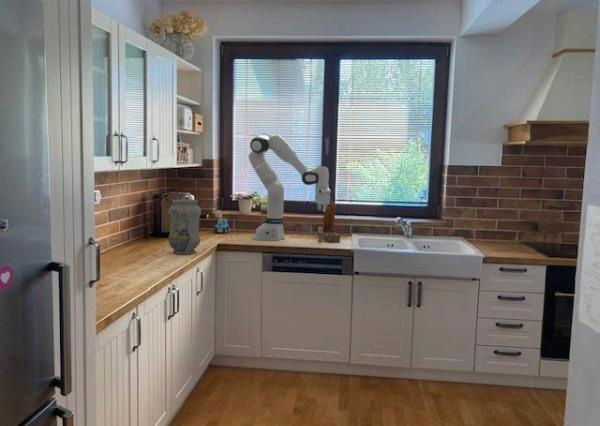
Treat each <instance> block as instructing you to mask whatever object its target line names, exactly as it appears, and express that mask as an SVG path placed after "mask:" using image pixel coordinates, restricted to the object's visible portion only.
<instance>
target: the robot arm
mask: <svg viewBox="0 0 600 426" xmlns="http://www.w3.org/2000/svg"><path fill="white" fill-rule="evenodd" d="M249 148H250V149H251V152H249V154H248V161H249V163H250V164H251V166H252V169H253V170H254V172H255V173H256V175H257V177H258V179H259V180H260V182H261V183H262V184H263V186H264V188H265V190H266V191H267V198H266V199H267V204H266V205H267V210H266V217H262V221H263V223H262V224H261V225H260V226H258V227H257V228H256V230H255V234H254V235H252V236H251V239H253V240H256V241H281V240H284V239H285V238H286V237H285V233H284V232H285V231H284V225H285V219H284V206H285V205H284V201H285V187H284V184H283V183H282V182H281V180H280V178H279V177H278V175H277V174H276V172H275V170H274V169H273V166H271V164H270V162H269V160H268V158H267V157H266V155H265V153H266V152H268V150H271V151H272V152H273V153H274V154H275V155H276V156H277V157H278V158H279V159H280V160H282V162H285V163H287V164H289V165H291V166H292V167H293V168H294V169H295V171H297V172H298V174H300V176H301V181H302V183H303V184H304V185H306V186H311V185H315V196H314V201H315V203H316V205H317V210H318V211H322V212H323V213H324V212H325V211H326V207H327V205H329V203H330V197H331V195H330V194H331V191H332V190H331V189H330V187H329V186H330V184H329V181H330V176H329V175H330V174H329V173H330V172H329V168H328V167H327V166H325V165H316V166H315V167H313V168H311V169H310V168H308V167H307V166H306V165H305V164H304V163H303V162H302V160H301V159H299V157H298V155H297V154H296V152H295V150H294V148H293V147H292V145H290V143H288V141H287V140H286V139H284V137H282V136H281V135H280V134H276V133H275V134H273V135H271V136H270V135H269V134H266V133H261V134H259V135H257V136H255V137H253V138H252V139H251V141H250V143H249Z"/></svg>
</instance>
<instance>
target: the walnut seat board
mask: <svg viewBox="0 0 600 426" xmlns="http://www.w3.org/2000/svg"><path fill="white" fill-rule="evenodd" d="M323 240H324V242H326V243H327V242H329V243H340V242H341V234H339V233H336V232H333V233H323V237H322V241H323Z"/></svg>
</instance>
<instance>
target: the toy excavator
mask: <svg viewBox="0 0 600 426" xmlns="http://www.w3.org/2000/svg"><path fill="white" fill-rule="evenodd" d="M214 215H215V218H217V224H215V227H214V233H215V234H218V233H222V234H227V233H230V232H231V228H230V226H229V224H228V220H227V219H226V218H223V214H222V210H219V209H218V210H216V211H215V214H214Z"/></svg>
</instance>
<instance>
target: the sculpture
mask: <svg viewBox="0 0 600 426" xmlns="http://www.w3.org/2000/svg"><path fill="white" fill-rule="evenodd" d="M337 209H338V205H336V203H335V202H333V199H332V197H331V196H330V203H329V205H327V207H326V211H325V212H324V211H323V219H322V221H323V222H322V223H323V233H334V232H333V231H334V230H333V229H334V223H335V216H336V213H337ZM322 238H323V235H322Z"/></svg>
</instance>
